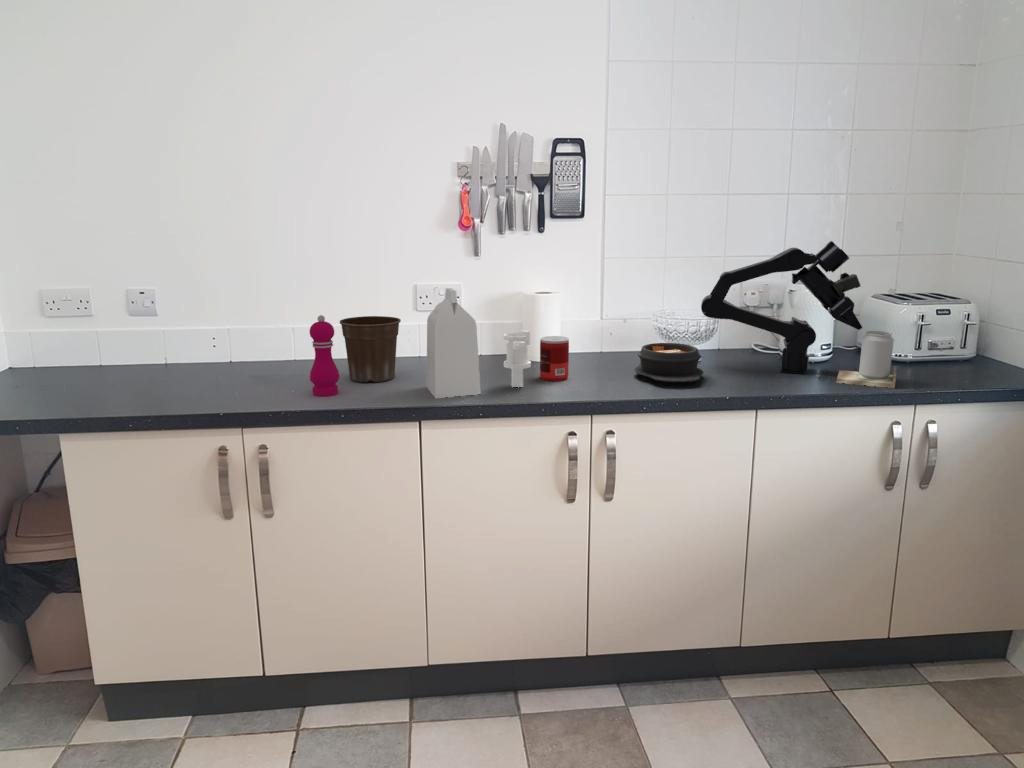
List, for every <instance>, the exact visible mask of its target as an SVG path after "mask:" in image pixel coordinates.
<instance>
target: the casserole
mask: <svg viewBox="0 0 1024 768" xmlns="http://www.w3.org/2000/svg"><path fill="white" fill-rule="evenodd" d="M637 356H638V358H639V359H640V363H639V365H637V366H635V368H634V372H635V373H636V374H638V375H640V376H643V377H646V378H647V379H650V380H654V381H658V382H664V383H690V382H691V383H692V382H698V381H699V380H700V379H701V376H702V375H703V374H704V371H703V369H702V368H699V367H698V365H699V361H700V360H701V358H702V355H701V354H700V352H699V349H698V347H696V346H693V345H690V344H685V343H677V342H655V343H649V344H644V345H642V347H641V348H640V350H639V352H638V353H637Z"/></svg>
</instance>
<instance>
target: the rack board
mask: <svg viewBox="0 0 1024 768" xmlns="http://www.w3.org/2000/svg"><path fill="white" fill-rule="evenodd" d="M892 371H893V373H892V374H890V375H889V376H888V377H886V378H885V379H870V378H865V377H863V376H862V375H861V374H860V373H859V371H855V370H854V371H852V370H844V369H843V370H842V369H839V370H838V374H837V377H836V381H835V383H836V384H842V383H845V384H844V385H853V384H855V386H864V385H866V386H865V387H867V386H868V387H874V386H876V387H877V388H885V387H888V389H895V387H896V382H897V381H896V378H897V367H893V370H892ZM876 387H875V388H876Z"/></svg>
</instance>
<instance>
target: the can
mask: <svg viewBox="0 0 1024 768" xmlns="http://www.w3.org/2000/svg"><path fill="white" fill-rule="evenodd" d="M861 340H862V341H861V350H860V360H859V366H858V368H859V369H858V372H859V373H860V374H861V375H862V376H863V377H865V378H870V379H885V378H886V377H888V376H889V375H891V365H892V357H893V349H894V348H893V347H894V341H895V340H894V338H893V337H892V333H891V332H889V331H883V330H882V331H881V330H880V331H879V330H867V331H865V335H863V336H862V339H861Z"/></svg>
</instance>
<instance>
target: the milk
mask: <svg viewBox="0 0 1024 768" xmlns="http://www.w3.org/2000/svg"><path fill="white" fill-rule="evenodd" d="M444 295H445V296H444V299H443V300H442V301H441V302H439V303H438V304H436V305H435V306H434V308H433V310H432V311H431V312H430V314H429V315H428V316H427V320H426V321H427V322H426V388H427V389H428V391H429V393H431V395H432V396H433V397H434V398H435V399H445V397H448V398H455V397H454V396H461V397H466V396H465V395H474V396H478V395H477V394H481V393H482V392H481V376H480V363H479V361H480V360H479V345H478V344H479V343H478V342H479V340H478V327H477V322H476V319H475V318H474V317H473V316H472V315H471V314H470V313H469V312H468V311H466V310H465V309H464V308H463V306H462V305H461V304H459V303H458V298H457V296H458V295H457V290H455V289H453V288H451V287H449V288H447V287H446V288H445V293H444Z"/></svg>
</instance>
